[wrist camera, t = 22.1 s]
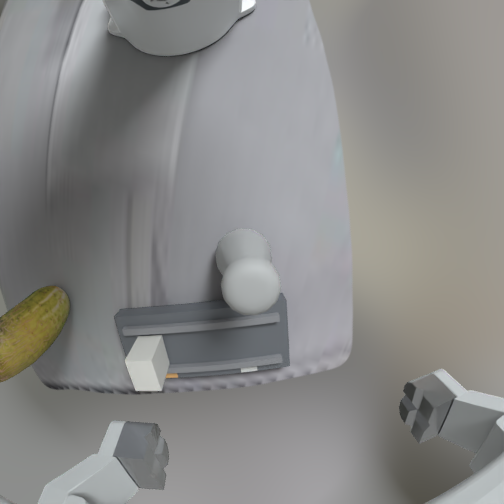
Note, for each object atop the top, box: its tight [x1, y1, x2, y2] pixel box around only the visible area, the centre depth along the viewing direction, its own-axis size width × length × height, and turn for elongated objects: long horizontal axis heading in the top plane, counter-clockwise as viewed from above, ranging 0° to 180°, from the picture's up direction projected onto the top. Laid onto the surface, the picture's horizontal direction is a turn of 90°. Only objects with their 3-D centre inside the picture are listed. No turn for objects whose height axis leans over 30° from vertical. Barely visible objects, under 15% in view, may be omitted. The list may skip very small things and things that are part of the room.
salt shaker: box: [215, 228, 281, 315], centre depth 26 cm, size 6×6×13 cm
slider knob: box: [125, 335, 170, 391], centre depth 28 cm, size 4×3×5 cm
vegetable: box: [0, 286, 70, 382], centre depth 22 cm, size 6×6×20 cm
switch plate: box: [114, 293, 290, 378], centre depth 32 cm, size 9×20×3 cm, turn 96°
